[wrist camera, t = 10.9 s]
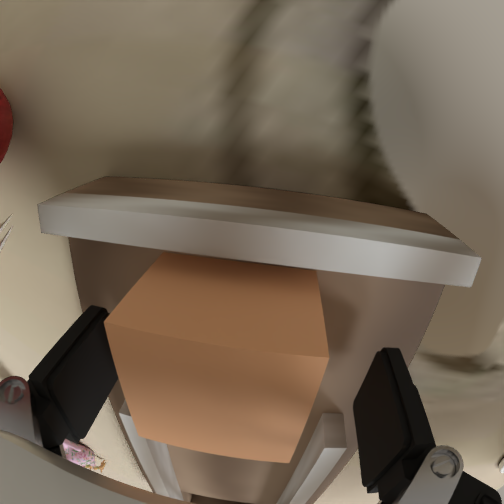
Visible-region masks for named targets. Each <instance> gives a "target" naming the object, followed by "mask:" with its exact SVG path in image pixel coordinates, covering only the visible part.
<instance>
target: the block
mask: <svg viewBox="0 0 504 504" xmlns="http://www.w3.org/2000/svg"><path fill="white" fill-rule="evenodd" d="M104 325H105V330H106V334H107V338H108V342H109V346H110V349H111V353H112V357H113V361H114V364H115V368H116V371H117V374H118V378H119V381H120V384H121V387H122V390H123V394H124V397H125V400H126V403H127V405H128V408H129V411H130V414H131V417H132V420H133V422H134V425H135V428H136V430H137V433H138V435H139V436H140V437H143V438H147V439H150V440H154V441H157V442H161V443H165V444H169V445H173V446H177V447H181V448H186V449H190V450H195V451H200V452H205V453H210V454H216V455H222V456H228V457H234V458H241V459H249V460H258V461H268V462H279V463H290V460H291V458H292V456H293V453H294V451H295V449H296V446H297V444H298V442H299V439H300V437H301V434H302V432H303V429H304V427H305V424H306V422H307V419H308V417H309V414H310V412H311V409H312V406H313V404H314V401H315V398H316V395H317V393H318V390H319V387H320V384H321V381H322V378H323V376H324V373H325V370H326V367H327V364H328V361H329V351H328V343H327V336H326V329H325V322H324V316H323V309H322V303H321V296H320V290H319V284H318V278H317V273H316V270H307V269H298V268H290V267H281V266H273V265H265V264H256V263H248V262H240V261H232V260H224V259H215V258H207V257H199V256H192V255H184V254H176V253H168V252H163V253H162V254H161V255H160V256H159V257H158V258H157V260H156V261H155V262H154V263H153V264H152V265H151V266H150V268H149V269H148V270H147V271H146V272H145V273H144V274H143V276H142V277H141V278H140V279H139V280H138V281H137V283H136V284H135V285H134V286H133V287H132V288H131V290H130V291H129V292H128V293H127V294H126V295H125V297H124V298H123V299H122V300H121V301H120V303H119V304H118V305H117V306H116V307H115V309H114V310H113V311H112V312H111V314H110V315H109V316H108V317H107V318H106V320H105V321H104Z"/></svg>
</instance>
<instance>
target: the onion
mask: <svg viewBox="0 0 504 504" xmlns="http://www.w3.org/2000/svg"><path fill="white" fill-rule="evenodd" d="M12 127H13V117H12V111H11V106H10V104H9V102H8V100H7V98H6V96H5V95H4V93H3V91H2V90H1V89H0V163H1V162H2V160H3V159H4V156H5V154H6V152H7V150H8V147H9V143H10V140H11V137H12Z"/></svg>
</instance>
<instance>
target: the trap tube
mask: <svg viewBox="0 0 504 504" xmlns="http://www.w3.org/2000/svg"><path fill="white" fill-rule="evenodd" d="M38 213H39V220H40V227H41V233H46V234H53V235H60V236H67V237H69V244H70V251H71V257H72V263H73V269H74V274H75V280H76V285H77V289H78V294H79V299H80V303H81V307H82V312H83V313H84V312H85V310H86V309H87V308H88V307H89V306H91V305H95V306H99V307H103V308H106V309H107V311H108V313H110V314H111V312H112V311H113V310H114V309H115V307H116V306H117V305H118V304H119V303H120V301H121V300H122V299H123V298H124V297H125V295H126V294H127V293H128V292H129V291H130V290H131V288H132V287H133V286H134V285H135V284H136V283H137V281H138V280H139V279H140V278H141V277H142V276H143V274H144V273H145V272H146V271H147V270H148V269H149V268H150V266H151V265H152V264H153V263H154V262H155V261H156V260H157V258H158V257H159V256H160V255H161V254H162V253H163V252H168V253H176V254H184V255H192V256H199V257H207V258H215V259H224V260H232V261H240V262H248V263H256V264H265V265H273V266H281V267H290V268H298V269H307V270H316V273H317V278H318V284H319V290H320V296H321V303H322V309H323V316H324V322H325V329H326V336H327V343H328V351H329V361H328V364H327V367H326V370H325V373H324V376H323V378H322V381H321V384H320V387H319V390H318V393H317V395H316V398H315V401H314V404H313V406H312V409H311V412H310V414H309V417H308V419H307V422H306V424H305V427H304V429H303V432H302V434H301V437H300V439H299V442H298V444H297V446H296V449H295V451H294V453H293V456H292V458H291V460H290V463H279V462H268V461H258V460H249V459H241V458H234V457H228V456H222V455H216V454H210V453H205V452H200V451H195V450H190V449H186V448H181V447H177V446H173V445H169V444H165V443H161V442H157V441H154V440H150V439H147V438H143V437H140V436H139V435H138V433H137V430H136V428H135V425H134V422H133V420H132V417H131V414H130V411H129V408H128V405H127V403H126V400H125V397H124V394H123V390H122V387H121V384H120V381H119V378H118V380H117V382H116V383H115V385H114V387H113V389H112V390H111V392H110V394H109V395H108V397H109V399H110V402H111V404H112V407H113V409H114V412H115V414H116V417H117V419H118V422H119V424H120V426H121V429H122V431H123V433H124V436H125V438H126V440H127V442H128V444H129V447H130V449H131V451H132V453H133V455H134V457H135V459H136V461H137V463H138V465H139V467H140V469H141V471H142V473H143V475H144V477H145V478H146V480H147V482H148V484H149V486H150V488H151V489H152V491H153V493H156V494H159V495H163V496H166V497H170V498H174V499H178V500H182V501H186V502H191V503H195V504H313V503H314V502H315V501H316V500H317V499H318V498H319V497H320V495H321V494H322V493H323V492H324V491H325V490H326V489H327V487H328V486H329V485H330V484H331V483H332V481H333V480H334V479H335V478H336V476H337V475H338V474H339V473H340V471H341V470H342V469H343V468H344V466H345V465H346V464H347V462H348V461H349V460H350V458H351V457H352V456H353V454H354V453H355V452H356V450H357V449H358V442H357V435H356V427H355V420H354V413H353V402H354V399H355V397H356V395H357V393H358V391H359V389H360V387H361V385H362V383H363V381H364V379H365V376H366V374H367V372H368V370H369V368H370V365H371V363H372V361H373V359H374V356H375V354H376V352H377V351H381V349H382V348H383V347H390V348H399V349H400V350H401V353H402V355H403V358H404V361H405V363H406V366H407V368H408V366H409V365H410V363H411V361H412V359H413V357H414V355H415V353H416V351H417V349H418V347H419V345H420V343H421V340H422V338H423V336H424V334H425V332H426V330H427V327H428V325H429V323H430V321H431V318H432V316H433V314H434V311H435V309H436V306H437V304H438V301H439V299H440V296H441V294H442V291H443V288H444V286H445V284H446V285H456V286H465V287H471V286H472V284H473V281H474V278H475V275H476V273H477V270H478V267H479V265H480V261H481V259H482V258H481V257H480V256H479V255H478V254H476V253H475V252H474V251H473V250H472V249H471V248H469V247H468V246H467V245H466V244H465V243H463V242H462V241H461V240H460V239H459V238H457V237H456V236H455V235H454V234H452V233H451V232H450V231H448V230H447V229H446V228H445V227H443V226H442V225H441V224H439V223H438V222H437V221H436V220H434V219H433V218H431V217H430V216H429V215H427V214H425V213H420V212H415V211H410V210H405V209H400V208H394V207H389V206H383V205H378V204H372V203H366V202H360V201H354V200H348V199H341V198H335V197H328V196H321V195H314V194H307V193H300V192H292V191H284V190H276V189H268V188H259V187H250V186H240V185H230V184H219V183H208V182H195V181H182V180H167V179H150V178H129V177H103V178H100V179H97V180H95V181H92V182H89V183H87V184H84V185H82V186H79V187H77V188H74V189H72V190H70V191H67V192H65V193H62V194H60V195H58V196H55V197H53V198H51V199H48V200H46V201H44V202H42V203H40V204H38Z"/></svg>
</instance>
